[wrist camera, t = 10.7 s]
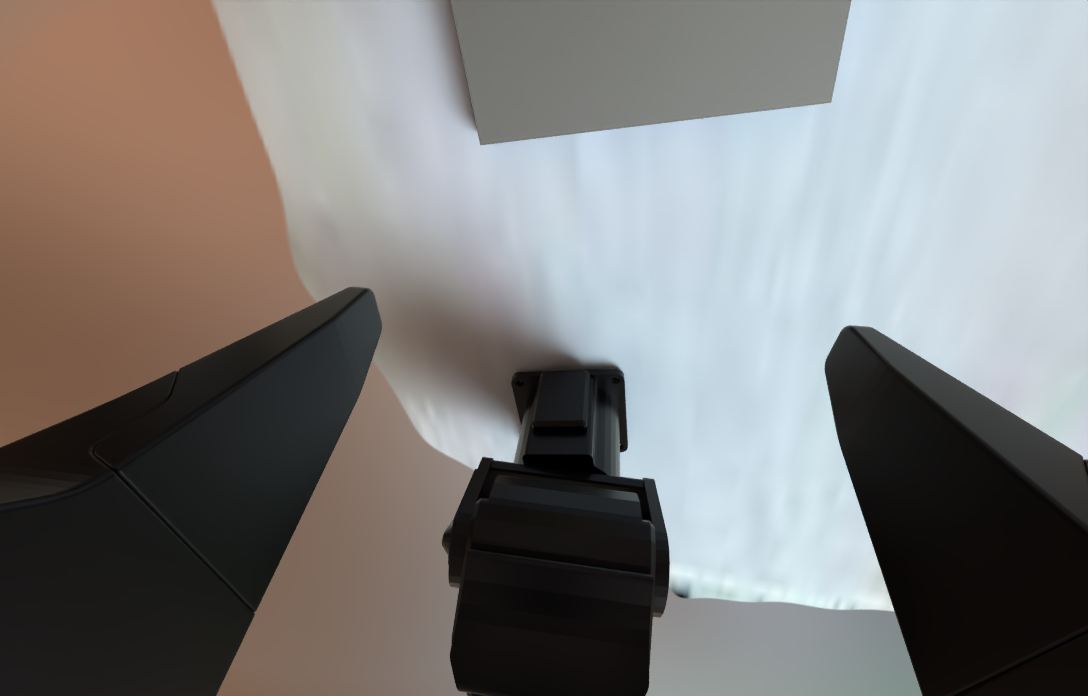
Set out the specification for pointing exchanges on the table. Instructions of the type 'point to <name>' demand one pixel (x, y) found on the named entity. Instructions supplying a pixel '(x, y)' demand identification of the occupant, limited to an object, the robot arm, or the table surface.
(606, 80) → the plate
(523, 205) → the table surface
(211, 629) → the robot arm
